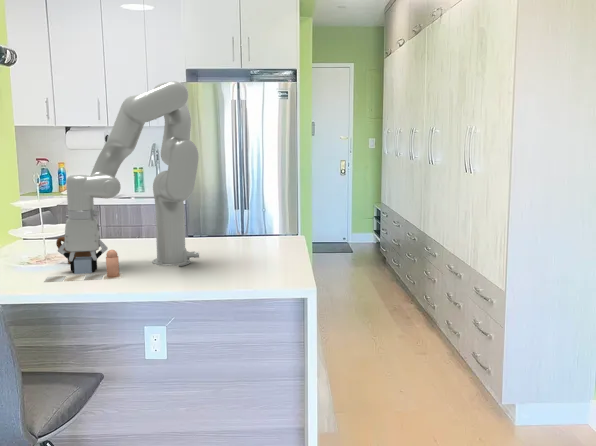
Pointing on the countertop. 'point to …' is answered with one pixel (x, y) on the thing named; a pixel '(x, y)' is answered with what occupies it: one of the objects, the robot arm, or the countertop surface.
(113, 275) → the pawn
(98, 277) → the track
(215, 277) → the countertop surface
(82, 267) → the light blue cube
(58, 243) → the mug
